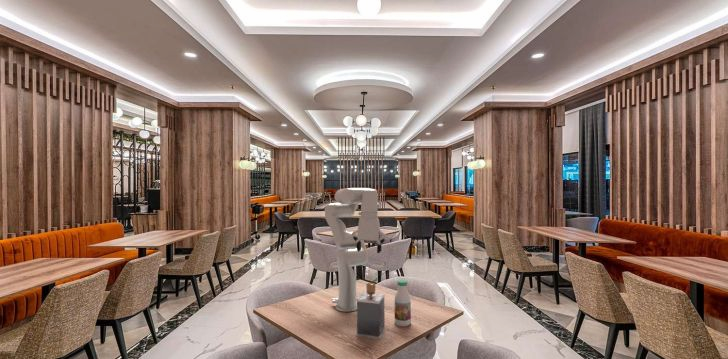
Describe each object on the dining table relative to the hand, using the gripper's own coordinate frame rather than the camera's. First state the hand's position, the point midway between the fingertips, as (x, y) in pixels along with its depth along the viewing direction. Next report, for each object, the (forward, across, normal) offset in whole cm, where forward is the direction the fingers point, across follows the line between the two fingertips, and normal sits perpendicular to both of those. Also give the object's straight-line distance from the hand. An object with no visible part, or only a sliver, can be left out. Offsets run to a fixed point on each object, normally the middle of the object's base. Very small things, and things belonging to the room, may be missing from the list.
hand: (368, 251), depth 146 cm
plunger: (+33, +4, -6) cm, 34 cm away
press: (+35, +3, -5) cm, 35 cm away
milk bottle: (+35, +15, +7) cm, 39 cm away
